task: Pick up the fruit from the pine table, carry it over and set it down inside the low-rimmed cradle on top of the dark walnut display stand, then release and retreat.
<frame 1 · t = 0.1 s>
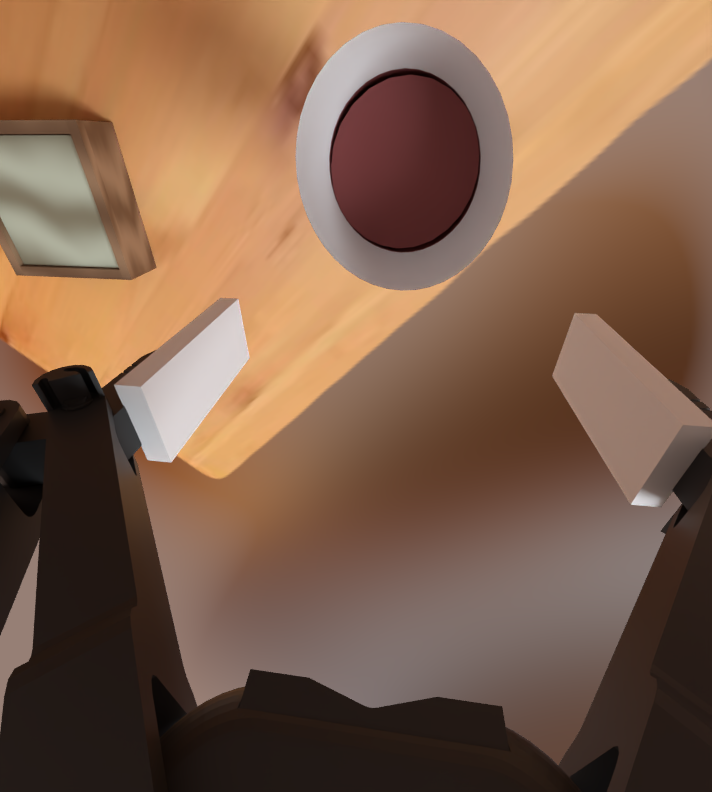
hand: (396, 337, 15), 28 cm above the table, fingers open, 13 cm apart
display stand: (77, 201, 41), on the table
wineglass: (406, 159, 35), on the table
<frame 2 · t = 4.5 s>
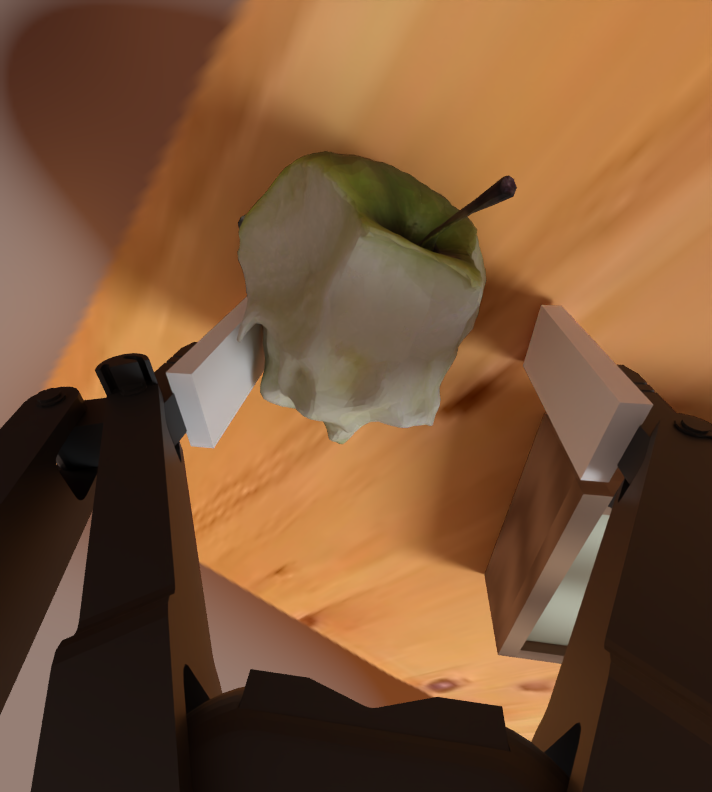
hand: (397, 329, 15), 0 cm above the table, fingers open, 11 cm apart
display stand: (638, 522, 20), on the table
fruit: (368, 284, 15), on the table, touching gripper
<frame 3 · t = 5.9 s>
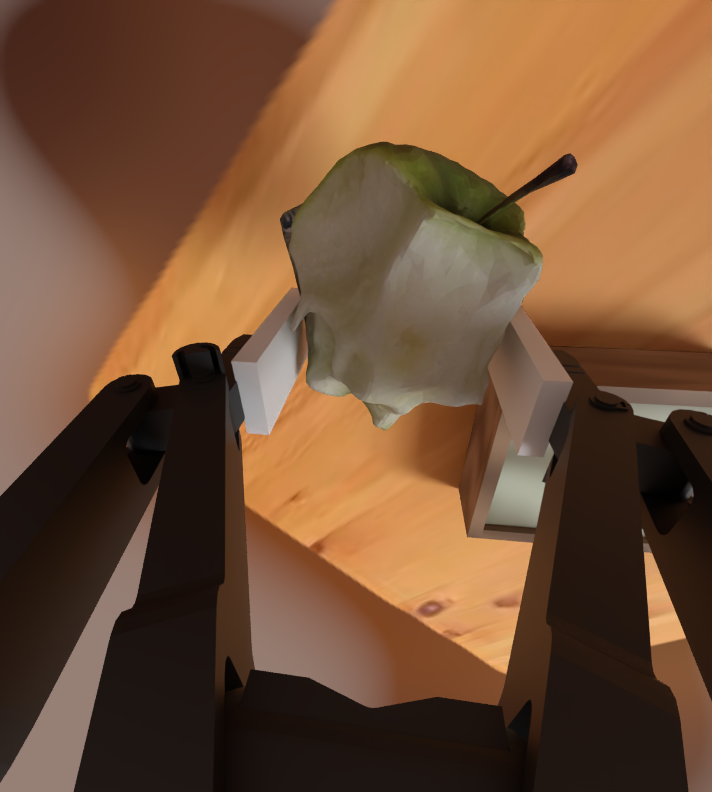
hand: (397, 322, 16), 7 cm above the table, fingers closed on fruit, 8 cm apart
display stand: (568, 432, 27), on the table
fruit: (405, 274, 15), point 7 cm above the table, touching gripper
when the fingers open (6 cm above the table, at t = 9.6 s): fruit drops 1 cm, resting on display stand.
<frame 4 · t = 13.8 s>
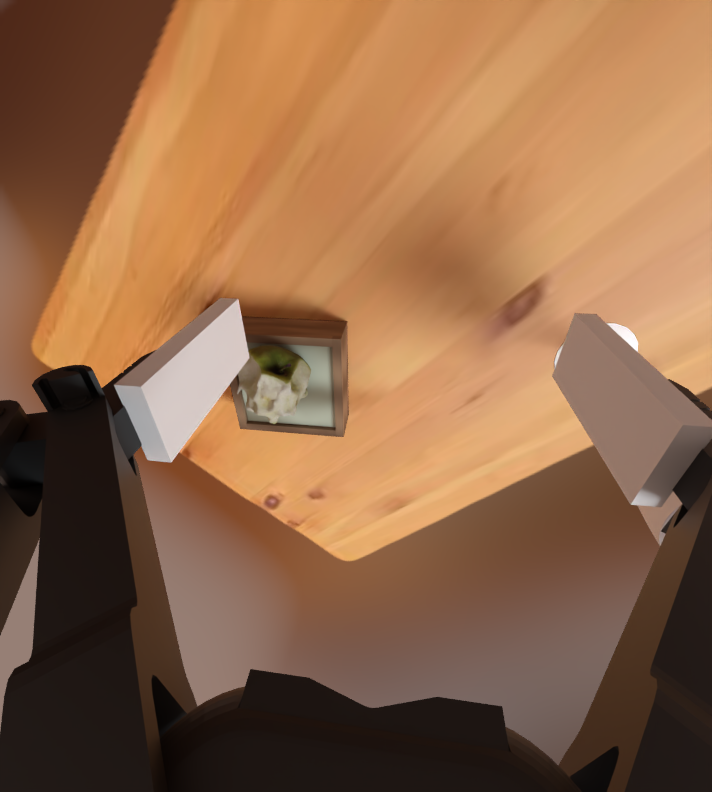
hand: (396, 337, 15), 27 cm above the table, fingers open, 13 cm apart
display stand: (295, 368, 48), on the table
fruit: (281, 368, 44), point 4 cm above the table, touching display stand
wineglass: (594, 357, 42), on the table
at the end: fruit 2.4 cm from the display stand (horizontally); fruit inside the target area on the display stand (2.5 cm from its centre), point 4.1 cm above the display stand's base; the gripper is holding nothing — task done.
